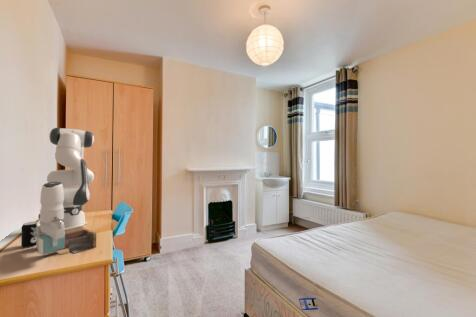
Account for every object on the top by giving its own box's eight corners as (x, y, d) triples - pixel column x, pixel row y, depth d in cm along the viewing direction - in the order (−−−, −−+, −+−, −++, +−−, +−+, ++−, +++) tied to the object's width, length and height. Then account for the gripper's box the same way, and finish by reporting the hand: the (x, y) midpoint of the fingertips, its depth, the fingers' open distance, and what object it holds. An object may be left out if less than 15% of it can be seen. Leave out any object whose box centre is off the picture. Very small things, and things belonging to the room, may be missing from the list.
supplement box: (35, 247, 115) (36, 223, 116) (54, 243, 121) (54, 220, 121) (37, 251, 110) (37, 226, 110) (56, 247, 116) (56, 223, 116)
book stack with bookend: (59, 246, 117) (59, 229, 117) (81, 240, 125) (81, 224, 125) (73, 254, 107) (73, 235, 107) (96, 247, 115) (96, 230, 115)
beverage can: (26, 248, 114) (26, 225, 114) (18, 246, 116) (18, 224, 116) (41, 244, 120) (41, 222, 120) (33, 242, 122) (33, 220, 122)
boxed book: (38, 252, 104) (38, 237, 104) (61, 246, 112) (61, 232, 112) (41, 254, 102) (41, 239, 102) (65, 247, 109) (65, 233, 109)
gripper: (68, 217, 104) (68, 247, 104) (53, 211, 115) (52, 238, 115) (52, 220, 98) (51, 251, 98) (37, 214, 110) (36, 242, 110)
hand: (52, 244), depth 107 cm, fingers closed on boxed book, 4 cm apart
